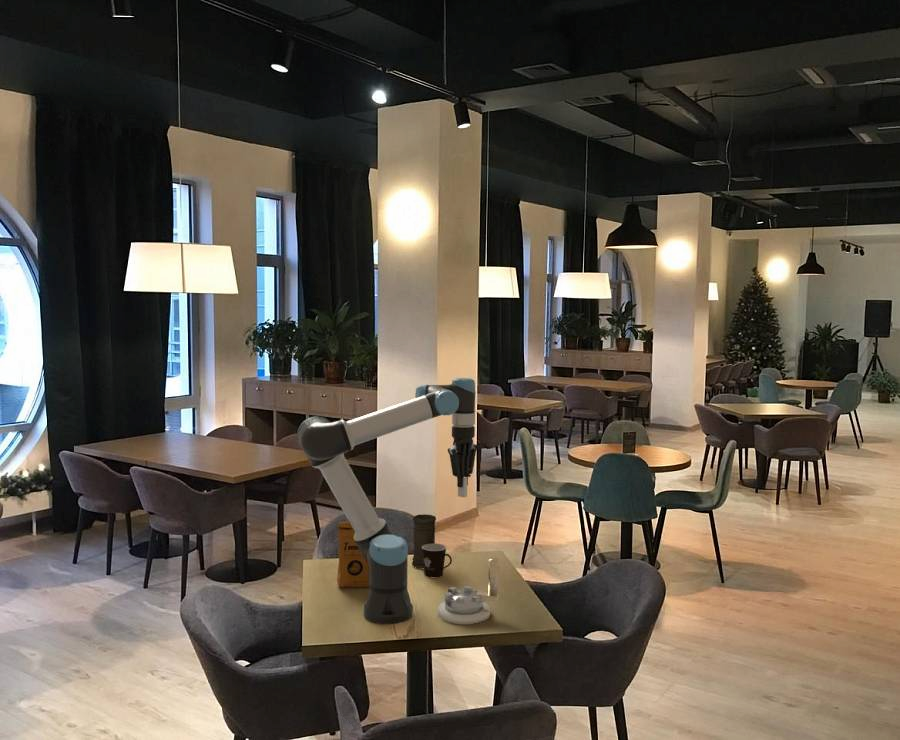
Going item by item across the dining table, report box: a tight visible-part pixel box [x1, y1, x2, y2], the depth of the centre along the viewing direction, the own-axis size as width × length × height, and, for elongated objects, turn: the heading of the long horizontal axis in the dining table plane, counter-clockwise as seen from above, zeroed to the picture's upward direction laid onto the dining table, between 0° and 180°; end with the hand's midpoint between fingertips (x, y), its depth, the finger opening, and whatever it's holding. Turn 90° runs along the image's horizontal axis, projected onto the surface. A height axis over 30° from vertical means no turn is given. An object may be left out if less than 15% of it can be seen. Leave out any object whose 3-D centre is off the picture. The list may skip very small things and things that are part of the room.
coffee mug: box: [422, 543, 453, 578], centre depth 288 cm, size 12×9×10 cm
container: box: [411, 514, 437, 569], centre depth 299 cm, size 9×9×18 cm
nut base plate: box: [437, 601, 491, 625], centre depth 254 cm, size 16×16×2 cm
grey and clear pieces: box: [444, 557, 500, 615], centre depth 252 cm, size 16×12×16 cm
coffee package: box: [336, 521, 370, 588], centre depth 278 cm, size 10×12×22 cm
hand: (462, 496), depth 270 cm, fingers closed
